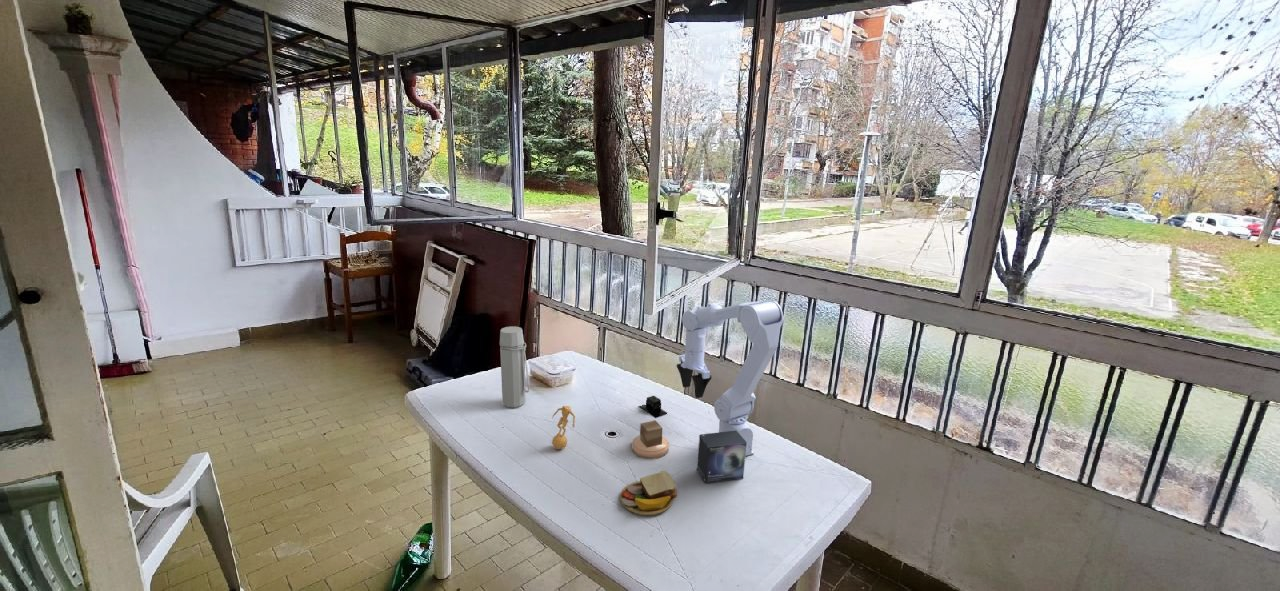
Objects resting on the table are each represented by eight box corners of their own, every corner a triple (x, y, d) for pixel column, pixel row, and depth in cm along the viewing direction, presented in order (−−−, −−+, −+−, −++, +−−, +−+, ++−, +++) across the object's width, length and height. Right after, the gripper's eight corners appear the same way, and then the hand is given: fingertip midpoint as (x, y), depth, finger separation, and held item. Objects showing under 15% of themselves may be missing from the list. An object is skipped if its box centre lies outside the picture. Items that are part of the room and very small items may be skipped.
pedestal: (674, 453, 146) (675, 447, 146) (641, 461, 142) (641, 454, 142) (658, 436, 155) (658, 430, 155) (626, 443, 151) (626, 436, 151)
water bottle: (497, 407, 170) (493, 332, 164) (510, 397, 177) (507, 324, 171) (523, 412, 167) (521, 335, 161) (535, 401, 175) (533, 327, 168)
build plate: (674, 416, 168) (675, 403, 167) (655, 423, 164) (656, 409, 163) (650, 401, 178) (650, 388, 177) (632, 407, 174) (632, 394, 173)
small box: (705, 485, 133) (707, 447, 130) (695, 470, 139) (697, 433, 136) (744, 479, 136) (747, 442, 133) (733, 465, 142) (736, 429, 139)
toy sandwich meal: (615, 487, 132) (616, 470, 130) (669, 482, 134) (670, 465, 133) (624, 521, 120) (625, 502, 119) (683, 514, 122) (684, 496, 121)
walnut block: (661, 444, 147) (662, 427, 146) (647, 447, 145) (647, 430, 144) (654, 436, 151) (655, 420, 150) (640, 439, 149) (640, 423, 148)
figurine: (543, 446, 149) (542, 406, 146) (559, 437, 153) (558, 398, 150) (565, 456, 144) (565, 415, 141) (581, 447, 148) (580, 407, 145)
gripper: (671, 342, 163) (669, 384, 166) (695, 359, 150) (693, 404, 153) (691, 339, 166) (689, 380, 169) (717, 356, 153) (714, 400, 156)
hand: (692, 391), depth 161 cm, fingers open, 7 cm apart
